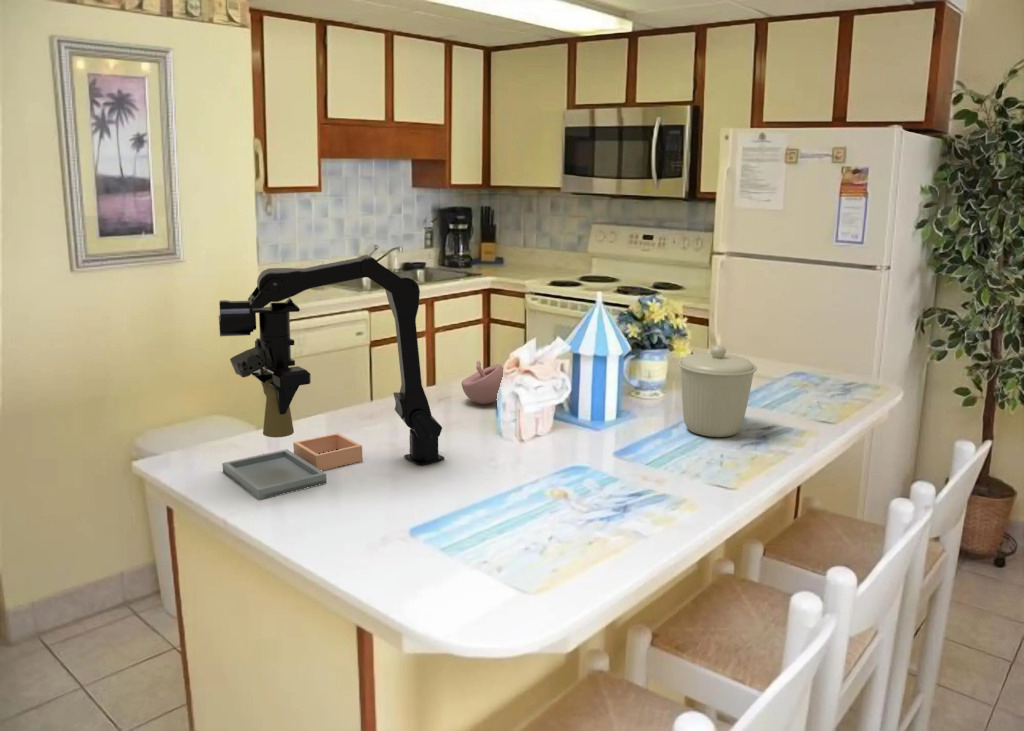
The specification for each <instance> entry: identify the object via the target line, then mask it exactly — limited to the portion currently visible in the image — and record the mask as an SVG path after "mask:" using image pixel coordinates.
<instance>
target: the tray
mask: <svg viewBox="0 0 1024 731" xmlns="http://www.w3.org/2000/svg"><path fill="white" fill-rule="evenodd" d="M221 465H222V473H223V474H225V475H226V476H227V477H229V478H230V479H231V480H233V481H234V482H235V483H236V484H238V486H240V487H242V489H243V490H245V491H247V492H248V493H249V494H250V495H251V496H253V498H256V499H257V500H258V501H260V500H261V501H262V500H264V499H270V498H272V496H273V497H276V495H277V496H281V495H280V494H282V495H284V494H283V493H286V494H288V493H287V492H290V493H292V492H291V491H294V492H297V491H296V490H298V491H301V490H300V489H302V490H305V489H304V488H306V489H308V488H307V487H310V488H312V487H311V486H314V487H316V486H315V485H318V486H320V485H319V484H322V485H324V484H323V483H326V484H327V479H328V478H327V473H326V472H325V471H321V470H319V469H318V468H316V467H315V466H313V465H311V464H310V463H308V462H307V461H305V460H303V459H302V458H300V457H299V456H297V455H295V454H294V452H292V451H291V450H289V449H280V450H276V451H272V452H267V453H263V454H258V455H254V456H249V457H245V458H240V459H235V460H231V461H225V462H222V463H221Z"/></svg>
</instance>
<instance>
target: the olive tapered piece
mask: <svg viewBox="0 0 1024 731" xmlns="http://www.w3.org/2000/svg"><path fill="white" fill-rule="evenodd" d="M269 382H273V379H269V380H267V381H266V382H265V383H264V387H263V386H262V389H263V393H264V395H265V397H266V396H267V398H265V399H266V401H265V410H264V420H263V430H262V435H263V436H265V437H268V438H285V437H288V436H289V437H290V436H291V435H293V434H294V432H295V430H294V425H293V420H292V414H291V413H292V412H291V407H290V405H289V408H288V410H287V412H286V414H282V415H281V414H280V412H279V408H278V402H277V396H276V391H275V389H274V388H273V387H272V386H271V385H269V384H268V383H269Z"/></svg>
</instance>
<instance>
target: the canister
mask: <svg viewBox="0 0 1024 731" xmlns="http://www.w3.org/2000/svg"><path fill="white" fill-rule="evenodd" d="M677 364H678V367H679V368H680V381H681V401H682V416H683V421H684V425H685V427H686V428H687V429H688V430H689V431H690V432H692V433H694V434H696V435H699V436H703V437H708V438H725V437H726V438H727V437H732V436H734V435H736V434H737V433H739V432H740V431H741V429H742V427H743V425H744V421H745V417H746V416H745V415H746V411H747V408H748V403H749V397H750V394H751V389H752V388H751V387H752V382H753V378H754V374H755V373H756V372H757V369H758V366H757V365H756V364H754V363H752V362H751V361H750V360H749V359H747V358H745V357H743V356H738V355H734V354H729V353H727V349H726V348H725V347H724V345H721V344H716V345H713V346H712V347H711V348H710V352H700V353H699V352H698V353H693V354H689V355H687V356H685V357H684V358H681V359H679V360H678V363H677Z"/></svg>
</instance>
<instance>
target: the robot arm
mask: <svg viewBox="0 0 1024 731" xmlns="http://www.w3.org/2000/svg"><path fill="white" fill-rule="evenodd" d="M364 278H369V279H370V280H371V281H373V282H375V283H376V284H377V285H378V286H380V287H381V288H383V289H384V290H385V294H386V297H387V301H388V302H387V303H388V304H389V308H390V310H391V313H392V316H393V317H394V318H393V319H394V321H395V322H394V323H395V333H396V342H397V352H398V353H397V354H398V361H399V371H400V382H401V385H400V388H399V389H400V390H399V392H397V391H396V392H393V393H392V394H393V398H394V401H395V407H394V411H395V412H396V414H397V415H398V416H399V417H400V419H401V420H402V421H403V422H404V424H405V425H406V426H407V427H408V428H409V453H407V454H405V455H403V458H404V459H406V460H408V461H410V462H411V463H413V464H415V465H417V466H424V465H425V466H426V465H428V464H432V463H437V462H440V461H444V460H445V456H444V455H441V454H439V438H440V436H441V433H442V431H443V426H442V425H441V424H440V423H439V422H438V421H437V419H435V417H434V416H433V415H432V412H431V409H430V404H429V400H428V399H427V395H426V392H425V390H424V387H423V383H422V375H421V374H422V372H421V363H420V354H419V343H418V333H417V332H418V331H417V323H416V320H417V315H418V312H419V308H420V296H421V295H420V293H421V289H420V286H419V284H418V283H417V282H416V281H415V280H414V279H412V278H411V277H409V276H407V275H406V274H403V273H394V272H393V271H391V270H390V269H388V268H387V267H385V266H384V265H382V264H381V263H380V262H378V260H377V259H376V258H374V257H372V256H371V255H367V254H366V255H362V256H358V257H356V258H351V259H345V260H340V261H334V262H329V263H326V264H320V265H314V266H310V267H309V266H308V267H305V268H301V267H299V268H296V267H295V268H293V267H292V268H291V267H272V268H266V269H264V270H263V271H261V272H260V274H259V275H258V277H257V280H256V287H255V288H254V290H253V291H252V293H251V294H249V297H248V298H247V300H227V299H224V300H223V299H222V300H219V314H218V326H219V328H218V329H219V330H218V331H219V337H239V336H242V337H243V336H251V333H254V331H257V315H256V314H258V319H259V320H258V321H259V322H258V325H259V338H256V340H255V341H254V347H253V348H250V349H247V350H244V351H243V352H241V353H240V352H239V353H238V354H237V355H234V356H232V357H231V358H230V359H229V360H230V361H229V362H230V364H231V366H232V368H233V370H234V373H235V375H238V376H240V377H241V378H248V377H250V376H251V375H252V377H254V378H255V379H257V380H258V381H260V383H261V386H262V388H263V387H264V383H265V382H266V381H267V380H269V379H273V382H269V383H268V384H269V385H271V386H272V387H273V388H274V389H275V391H276V396H277V402H278V408H279V412H280V414H281V415H282V414H286V412H287V410H288V408H289V406H290V405H291V403H292V401H293V399H294V397H295V395H296V392H297V391H298V390H299V387H300V386H305V385H311V379H312V378H311V373H310V372H309V371H308V370H307V369H305V368H303V367H301V366H299V365H298V366H296V360H295V359H292V353H291V352H292V350H291V346H294V345H295V339H292V338H291V326H290V324H291V323H290V320H291V319H290V318H291V317H290V313H297V312H298V313H299V312H300V310H301V309H300V307H299V306H298V305H297V304H296V303H294V301H293V300H292V297H295V296H297V295H299V294H301V293H302V292H304V291H307V290H309V289H313V288H319V287H323V286H328V285H334V284H338V283H344V282H349V281H354V280H358V279H359V280H360V279H364ZM286 299H287V300H286ZM285 300H286V301H285ZM284 301H285V302H284ZM269 304H270V305H269ZM267 305H269V306H267ZM265 397H266V398H267V396H266V395H265ZM266 398H265V399H266Z"/></svg>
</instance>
